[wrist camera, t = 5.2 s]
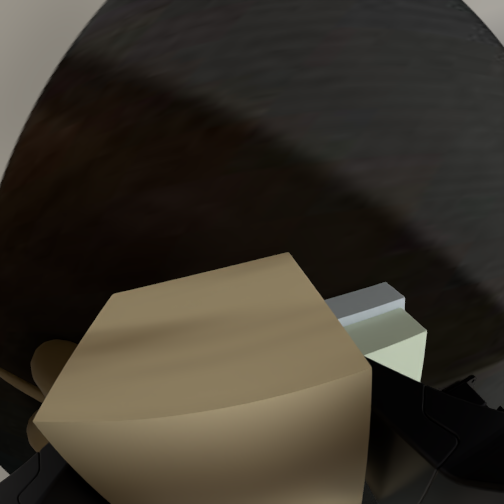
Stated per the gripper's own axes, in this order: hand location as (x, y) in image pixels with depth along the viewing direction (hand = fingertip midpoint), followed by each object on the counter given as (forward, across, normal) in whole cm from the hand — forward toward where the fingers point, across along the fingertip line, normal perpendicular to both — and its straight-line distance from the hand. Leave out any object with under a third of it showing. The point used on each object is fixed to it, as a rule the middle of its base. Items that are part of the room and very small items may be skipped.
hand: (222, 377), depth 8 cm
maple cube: (+1, 0, 0) cm, 1 cm away
